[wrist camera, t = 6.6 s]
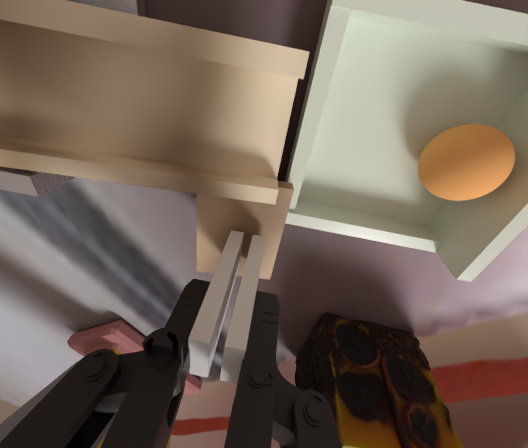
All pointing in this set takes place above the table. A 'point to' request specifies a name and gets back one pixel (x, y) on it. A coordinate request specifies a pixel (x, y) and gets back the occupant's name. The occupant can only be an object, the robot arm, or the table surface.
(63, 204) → the table surface
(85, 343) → the pink yellow-faced device
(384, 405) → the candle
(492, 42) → the tray
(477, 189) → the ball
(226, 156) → the beige piece
